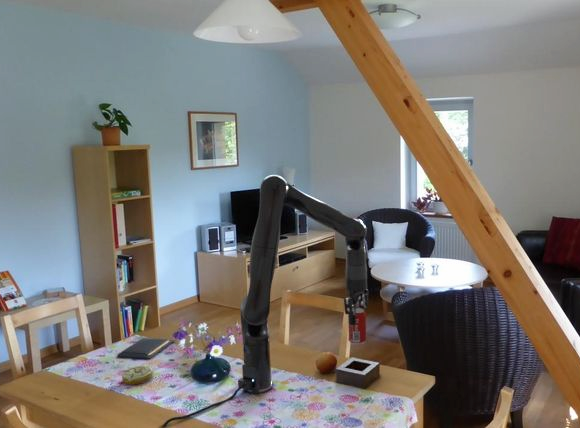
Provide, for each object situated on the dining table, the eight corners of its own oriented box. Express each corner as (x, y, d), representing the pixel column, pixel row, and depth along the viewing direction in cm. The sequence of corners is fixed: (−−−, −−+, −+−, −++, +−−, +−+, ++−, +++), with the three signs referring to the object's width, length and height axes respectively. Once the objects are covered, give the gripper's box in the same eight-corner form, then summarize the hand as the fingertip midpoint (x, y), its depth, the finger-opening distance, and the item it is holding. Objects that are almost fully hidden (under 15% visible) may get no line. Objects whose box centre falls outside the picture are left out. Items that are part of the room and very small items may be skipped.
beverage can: (369, 340, 205) (368, 308, 203) (362, 346, 199) (361, 313, 197) (353, 338, 207) (352, 306, 205) (345, 344, 202) (345, 311, 200)
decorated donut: (117, 380, 209) (116, 370, 208) (145, 371, 216) (144, 361, 216) (129, 388, 201) (128, 378, 201) (158, 378, 209) (157, 369, 208)
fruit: (341, 371, 209) (330, 353, 208) (323, 381, 209) (312, 364, 208) (342, 362, 217) (331, 345, 216) (325, 372, 217) (313, 355, 216)
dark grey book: (143, 335, 249) (174, 337, 245) (143, 339, 249) (175, 341, 246) (114, 352, 230) (148, 355, 226) (115, 357, 230) (148, 360, 226)
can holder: (364, 388, 197) (364, 375, 197) (336, 382, 203) (335, 368, 202) (379, 375, 207) (379, 362, 207) (352, 370, 213) (351, 357, 212)
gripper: (356, 270, 208) (357, 314, 210) (336, 279, 195) (337, 326, 198) (375, 272, 204) (375, 317, 206) (355, 282, 192) (356, 329, 194)
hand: (357, 321), depth 202 cm, fingers closed on beverage can, 6 cm apart
